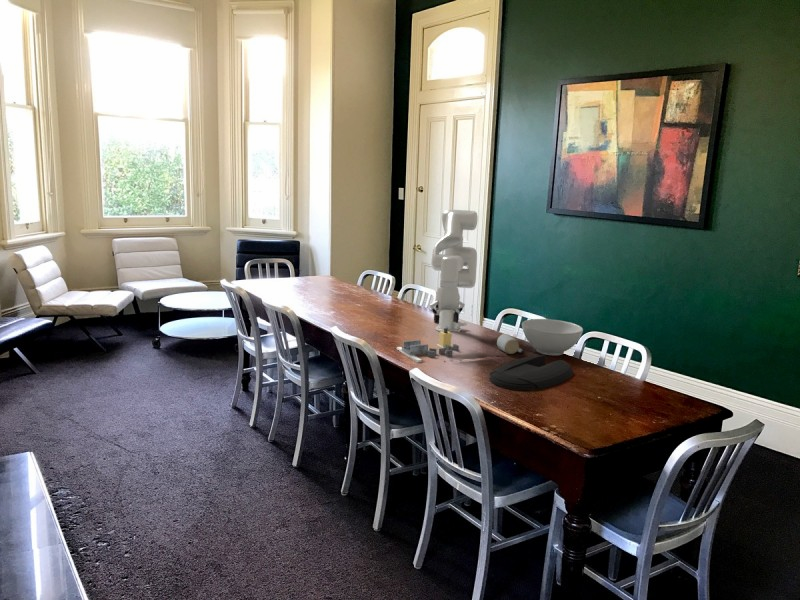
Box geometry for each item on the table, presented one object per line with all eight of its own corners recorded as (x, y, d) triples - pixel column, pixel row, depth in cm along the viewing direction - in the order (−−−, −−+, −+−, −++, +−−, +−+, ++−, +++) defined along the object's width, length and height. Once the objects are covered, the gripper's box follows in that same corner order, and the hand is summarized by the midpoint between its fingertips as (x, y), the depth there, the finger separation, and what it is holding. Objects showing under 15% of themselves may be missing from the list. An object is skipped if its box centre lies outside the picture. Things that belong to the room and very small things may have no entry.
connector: (446, 344, 279) (447, 326, 277) (450, 346, 275) (451, 329, 274) (438, 344, 277) (439, 327, 275) (443, 347, 274) (444, 329, 272)
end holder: (419, 348, 269) (419, 339, 269) (427, 353, 262) (428, 344, 262) (401, 350, 266) (402, 341, 265) (409, 355, 259) (410, 346, 258)
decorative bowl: (521, 341, 295) (523, 316, 292) (579, 347, 288) (582, 322, 286) (517, 356, 269) (519, 329, 267) (580, 363, 263) (583, 336, 260)
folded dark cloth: (473, 380, 235) (474, 367, 234) (527, 360, 265) (528, 349, 264) (530, 397, 219) (532, 384, 218) (581, 374, 249) (582, 362, 248)
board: (445, 345, 281) (446, 337, 280) (469, 357, 264) (469, 349, 263) (396, 349, 270) (397, 341, 270) (417, 362, 253) (417, 354, 252)
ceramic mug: (504, 355, 269) (506, 338, 268) (495, 350, 277) (497, 333, 275) (525, 354, 273) (527, 337, 271) (516, 349, 280) (518, 333, 279)
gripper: (461, 283, 277) (458, 320, 280) (427, 283, 270) (425, 322, 273) (469, 285, 271) (467, 323, 274) (435, 286, 263) (433, 325, 266)
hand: (446, 322), depth 273 cm, fingers open, 9 cm apart
